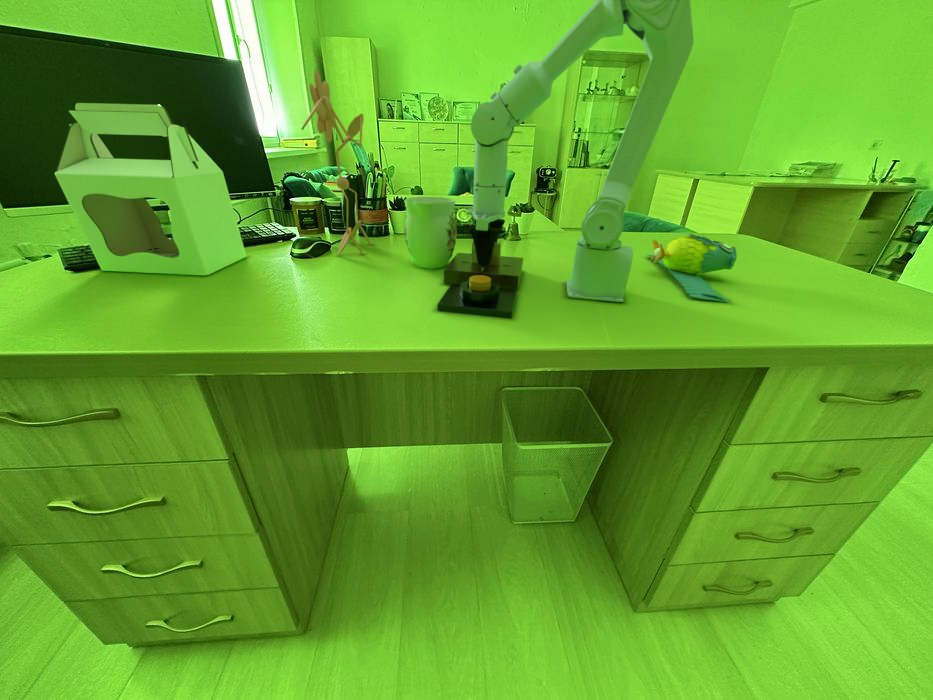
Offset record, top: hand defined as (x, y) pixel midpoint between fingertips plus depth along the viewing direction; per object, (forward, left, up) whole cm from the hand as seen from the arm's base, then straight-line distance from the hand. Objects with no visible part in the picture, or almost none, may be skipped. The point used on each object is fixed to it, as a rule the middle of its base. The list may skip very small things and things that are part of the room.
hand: (485, 260), depth 72 cm
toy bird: (-41, -12, -4) cm, 43 cm away
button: (-1, +13, -1) cm, 13 cm away
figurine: (+38, -12, -4) cm, 40 cm away
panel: (0, 0, -3) cm, 3 cm away
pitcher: (+13, -7, -4) cm, 15 cm away
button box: (-1, +13, -3) cm, 14 cm away
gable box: (+64, +8, -4) cm, 65 cm away
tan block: (0, 0, 0) cm, 0 cm away
